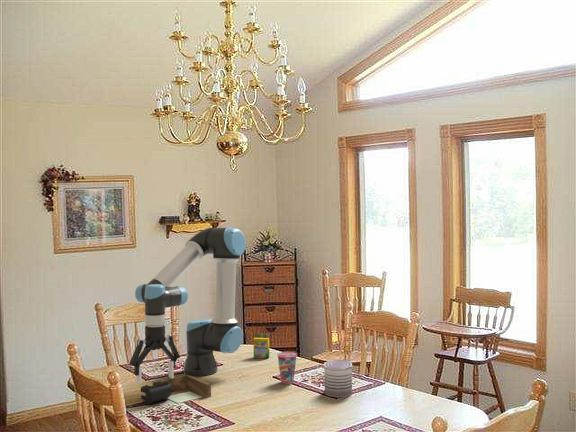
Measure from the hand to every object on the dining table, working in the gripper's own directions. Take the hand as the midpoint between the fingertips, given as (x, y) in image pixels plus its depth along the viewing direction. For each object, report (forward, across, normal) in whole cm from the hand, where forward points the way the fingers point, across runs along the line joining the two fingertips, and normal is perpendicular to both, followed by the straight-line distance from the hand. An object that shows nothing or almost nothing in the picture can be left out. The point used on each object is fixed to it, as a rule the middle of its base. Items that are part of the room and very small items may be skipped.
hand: (155, 380), depth 246 cm
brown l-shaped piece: (+8, -12, -1) cm, 14 cm away
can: (+8, -60, +38) cm, 72 cm away
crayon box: (+7, -70, -26) cm, 76 cm away
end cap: (+8, -1, 0) cm, 8 cm away
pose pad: (+8, -11, +2) cm, 14 cm away
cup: (+8, -54, +14) cm, 57 cm away
